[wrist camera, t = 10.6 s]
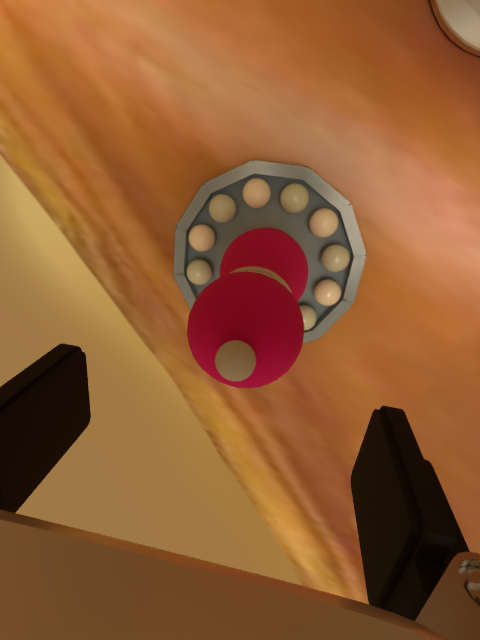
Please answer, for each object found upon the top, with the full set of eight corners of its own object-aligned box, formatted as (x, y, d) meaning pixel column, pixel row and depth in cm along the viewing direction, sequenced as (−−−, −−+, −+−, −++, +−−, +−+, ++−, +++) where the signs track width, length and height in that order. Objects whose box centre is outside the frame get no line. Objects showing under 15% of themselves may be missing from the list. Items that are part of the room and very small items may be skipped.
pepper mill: (284, 310, 34) (272, 465, 16) (217, 278, 34) (127, 398, 16) (321, 243, 31) (359, 338, 13) (248, 207, 31) (181, 253, 13)
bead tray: (187, 152, 31) (174, 149, 28) (380, 177, 30) (391, 177, 26) (178, 324, 38) (166, 338, 34) (335, 351, 36) (339, 369, 33)
